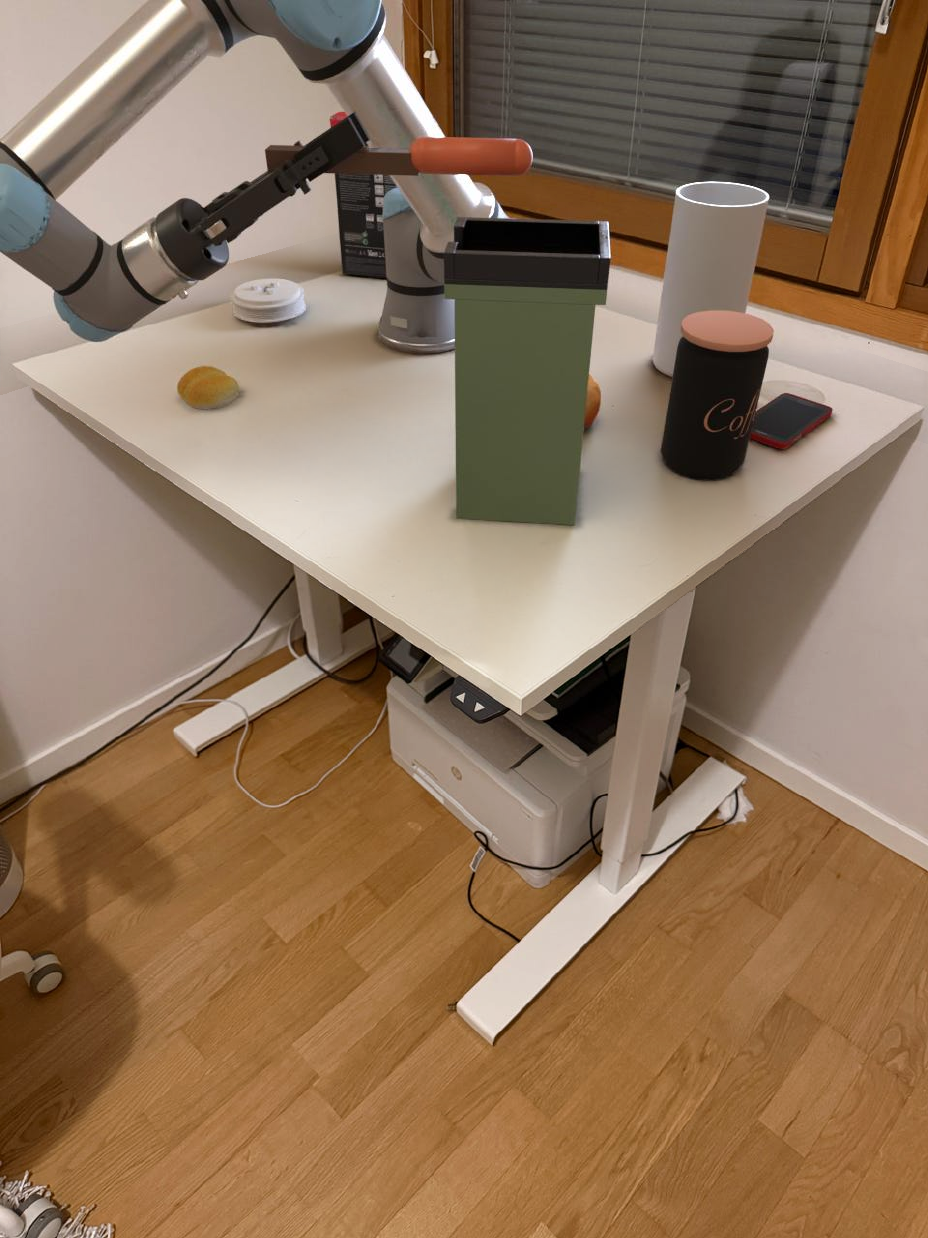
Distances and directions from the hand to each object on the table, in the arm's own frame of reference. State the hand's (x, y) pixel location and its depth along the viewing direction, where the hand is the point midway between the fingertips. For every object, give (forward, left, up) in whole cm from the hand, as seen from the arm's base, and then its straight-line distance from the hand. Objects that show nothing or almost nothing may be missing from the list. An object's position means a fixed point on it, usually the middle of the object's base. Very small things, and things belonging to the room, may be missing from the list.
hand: (359, 128), depth 84 cm
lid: (-23, -58, -40) cm, 74 cm away
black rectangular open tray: (-11, +13, -12) cm, 21 cm away
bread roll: (+2, -37, -40) cm, 55 cm away
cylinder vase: (-58, +6, -40) cm, 70 cm away
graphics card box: (-51, -59, -40) cm, 88 cm away
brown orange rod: (-2, +3, -4) cm, 5 cm away
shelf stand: (-11, +13, -40) cm, 43 cm away
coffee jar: (-34, +24, -40) cm, 57 cm away
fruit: (-30, +5, -40) cm, 50 cm away
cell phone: (-51, +26, -40) cm, 69 cm away
